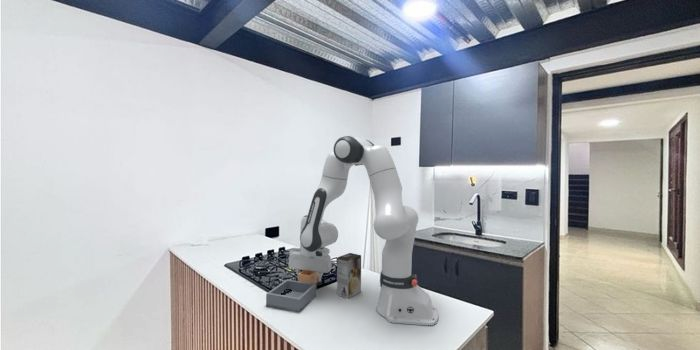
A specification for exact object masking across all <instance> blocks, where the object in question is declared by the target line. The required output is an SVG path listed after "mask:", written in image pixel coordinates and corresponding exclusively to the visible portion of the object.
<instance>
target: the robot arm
mask: <svg viewBox="0 0 700 350" xmlns="http://www.w3.org/2000/svg"><path fill="white" fill-rule="evenodd" d="M393 159H394V158H393V157H392V155H391V154H390V151H389V150H388V148H387V147H386V146H384V145H383V144H382V145H381V144H377V145H375V144H374V143H373V142H371V141H370V140H368V139H363V138H361V137H358V136H351V135H345V136H341V137H339V138H338V139H337V140H336V141H335V142H334V144H333V150H332V151H331V152H328V154H327V156H326V158H325V161H324V164H323V170H322V174H321V180H320V183H319V185H318V187H317V189H316V190H315V192H314V193H313V197H312V199H311V203H310V206H309V209H308V213H307V215H304V216H303V217H302V218H301V220H300V221H301V222H300V229H299V231H300V235H299V242H300V243H299V246H300V247H292V248H290V249H289V251H288V253H289V258H288V267H289V268H290V269H294V270H295V273H296V274H297V276H298V274H299V273H301V271H303V270H308V271H315V272H319V274H320V276H318V277H317V281H319V282H321V281H322V276H323V275H324V274H328V273H329V272H331V270H332V258H331V255H330V249H329V248H328V246H330V245H333V244H335V243H336V242H337V240H338V237H339V231H338V228H337V227H336V226H335V225H334V224H333V223H330V222H328V221H326V220H324V219H323V217H324V213H325V211H326V208H327V207H328V206H329V204H330V203H332V202H333V201H335V200H336V199H339V198H340V197H341V196H342V195H343V194H345V191H346V188H347V185H348V178H349V173H350V172H349V171H350V169H351V168H352V167H353V166H354V167H355V166H364V167H365V169H366V172H367V177H368V179H369V182H370V186H371V190H372V193H373V198H374V207H375V218H374V222H373V228H374V232H375V233H376V235H377V236H378V237H379V238H380V239H382V240H385V243H384V246H383V248H382V253H381V270H380V271H381V272H380V274H379V287H380V291H379V297H378V301H377V305H376V311H377V313H378V314H379V315H380V316H383V317H384V318H385V319H386V320H387V321H388V322H389V323H391V324H392V323H393V324H404V325H405V324H406V325H417V326H428V325H429V326H430V325H431V326H432V327H433V326H434V324H435V325H436V324H437V323H438V321H439V312H438V309H437V308H436V306H434V305H433V304H432V300H431V296H430V295H429V294H428V292H426V291H425V290H424V289H423V288H422V287H421V286H419V285H418V277H417V274H413V273H412V268H413V267H412V265H413V264H412V259H413V258H412V257H413V250H414V249H413V248H414V244H415V238H416V231H417V227H418V224H419V215H418V214H419V213H418V212H417V211H416V210H415V208H413V207H411V206H407V205H404V204H403V196H402V193H403V186H402V183H401V180H400V176H399V173H398V171H397V168H396V165H395V164H396V163H395V162H394V160H393ZM319 282H318V283H319ZM429 326H428V327H429ZM431 326H430V327H431Z"/></svg>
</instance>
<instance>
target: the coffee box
mask: <svg viewBox="0 0 700 350" xmlns="http://www.w3.org/2000/svg"><path fill="white" fill-rule="evenodd" d="M336 259H337V260H336V261H337V262H336V264H337V265H336V295H337V296H339V297H342V298H344V299H351V298H352V297H354V296H356V295H357V294H360V292H361V291H362V255H361V254H358V253H352V252H349V253H345V254H343V255H340V256H337V258H336Z"/></svg>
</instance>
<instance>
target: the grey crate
mask: <svg viewBox="0 0 700 350" xmlns="http://www.w3.org/2000/svg"><path fill="white" fill-rule="evenodd" d="M317 284H318V283H317ZM317 284H313V283H306V282H300V281H298V280H294V279H293V280H292V279H285V280H283V281H281V283H279V284H278V285H276V286H275V287H273V289H271V290H269V291H268V292H267V293H265V294H266V295H265V301H266V302H265V307H266V308H272V309H276V310H282V311H287V312H290V313H291V312H292V313H297V314H300V313H301V312H302V311H303V310H304V309H305V308H306V307H307V306H308V305H309V304H311V302H312V301H313V300H314V299H315V298H316V297H317ZM287 288H289V289H291V290H292V292H291V293H289V294H286V295H281V293H282V292H283V291H284V290H285V289H287Z"/></svg>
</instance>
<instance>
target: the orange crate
mask: <svg viewBox="0 0 700 350" xmlns="http://www.w3.org/2000/svg"><path fill="white" fill-rule="evenodd" d="M318 276H320V274H319V272H315V271H308V270H301V271H300V273H299V274H298V275H297V281H300V282H306V283H313V284H316V283H317V282H318V281H317V277H318ZM318 283H319V282H318ZM318 283H317V284H318Z"/></svg>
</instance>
